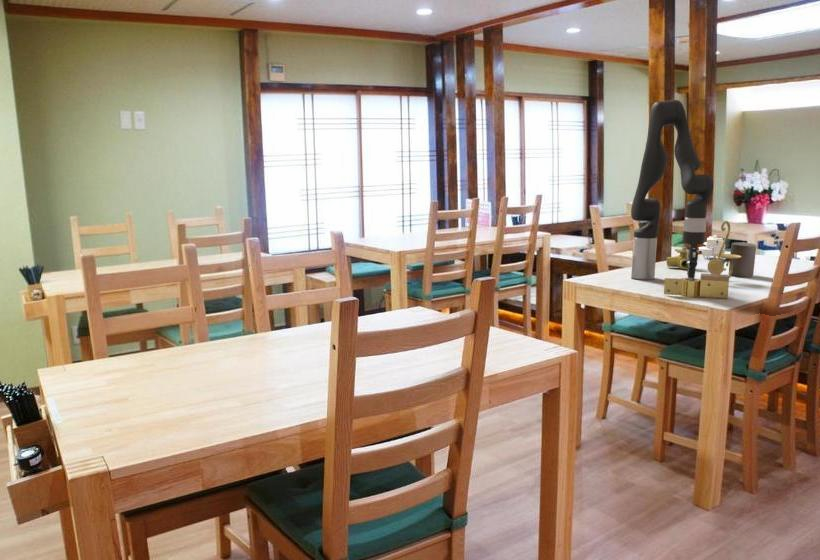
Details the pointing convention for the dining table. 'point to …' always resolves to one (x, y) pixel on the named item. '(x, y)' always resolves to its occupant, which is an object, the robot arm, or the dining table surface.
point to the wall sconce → (716, 264)
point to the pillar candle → (743, 259)
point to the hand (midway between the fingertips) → (690, 276)
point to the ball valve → (678, 259)
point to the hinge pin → (688, 269)
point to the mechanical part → (712, 247)
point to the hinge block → (699, 286)
